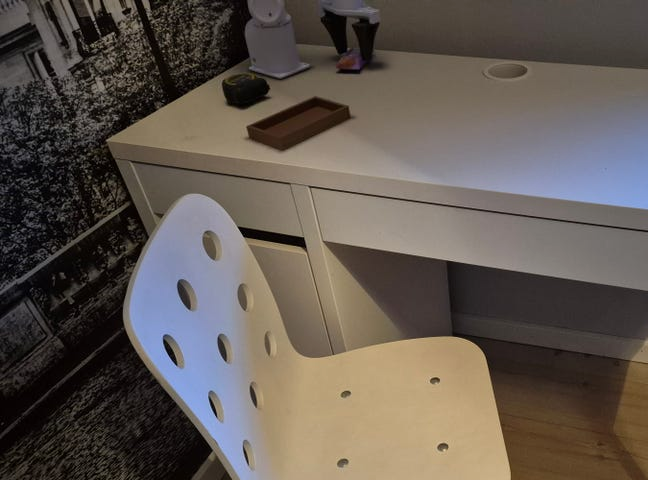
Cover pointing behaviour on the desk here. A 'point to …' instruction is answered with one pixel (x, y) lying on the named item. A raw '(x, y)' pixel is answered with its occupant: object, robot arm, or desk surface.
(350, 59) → the snack package
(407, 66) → the desk surface
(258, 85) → the tape measure
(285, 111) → the tray
